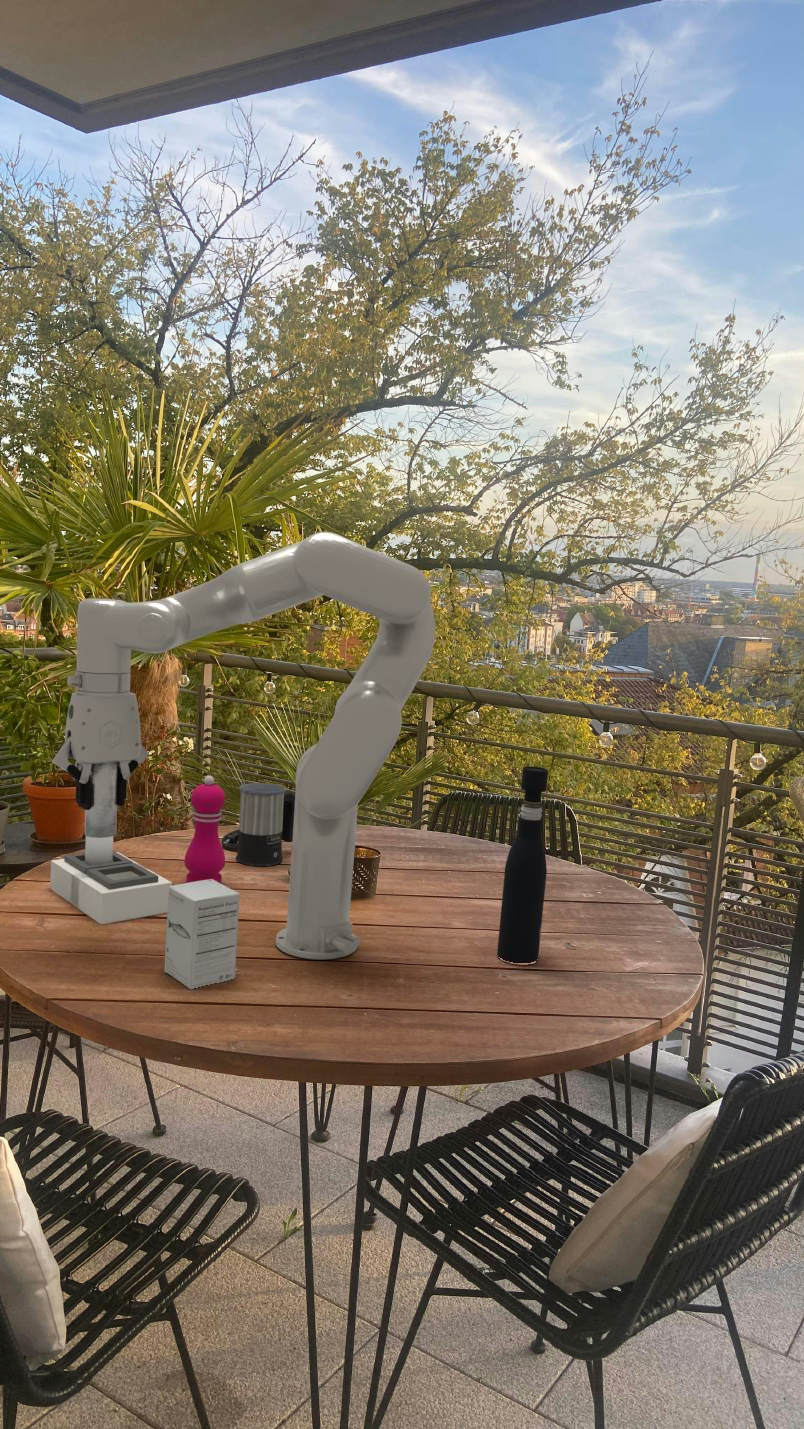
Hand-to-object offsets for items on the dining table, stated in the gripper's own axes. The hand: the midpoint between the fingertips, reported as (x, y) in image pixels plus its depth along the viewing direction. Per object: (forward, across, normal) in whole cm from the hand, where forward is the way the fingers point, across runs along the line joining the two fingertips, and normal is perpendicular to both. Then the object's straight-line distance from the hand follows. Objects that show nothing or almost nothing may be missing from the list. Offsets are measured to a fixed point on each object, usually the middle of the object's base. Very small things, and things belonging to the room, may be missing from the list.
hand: (101, 804), depth 144 cm
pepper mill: (+21, +26, +14) cm, 37 cm away
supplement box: (+21, +5, -21) cm, 30 cm away
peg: (+4, 0, 0) cm, 4 cm away
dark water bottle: (+22, +50, -40) cm, 68 cm away
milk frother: (+21, +44, +27) cm, 56 cm away
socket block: (+20, +8, +14) cm, 26 cm away
